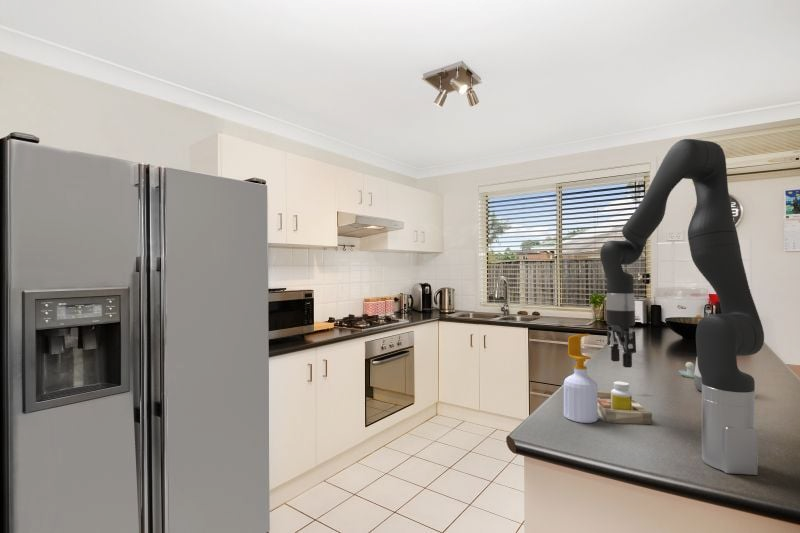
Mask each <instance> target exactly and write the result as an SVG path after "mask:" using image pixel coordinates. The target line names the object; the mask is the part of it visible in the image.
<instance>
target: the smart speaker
mask: <svg viewBox="0 0 800 533" xmlns="http://www.w3.org/2000/svg"><path fill="white" fill-rule="evenodd" d="M695 360H696V361H695V365H694V366H695V367H694V372H693V373H694V378H693V383H694V387H695V389H696V390H697V391H699V392H700V393H702V377H701V374H700V372H699V369H698V364H697V358H696V359H695Z"/></svg>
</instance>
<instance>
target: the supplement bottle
mask: <svg viewBox="0 0 800 533" xmlns="http://www.w3.org/2000/svg"><path fill="white" fill-rule="evenodd" d="M629 389H630V383H629V382H626V381H620V380H617V381H614V382H613V389H611V390H610V391H611V408H612V409H613V410H632V400H633V394H632V392H631V391H630V390H629Z"/></svg>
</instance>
